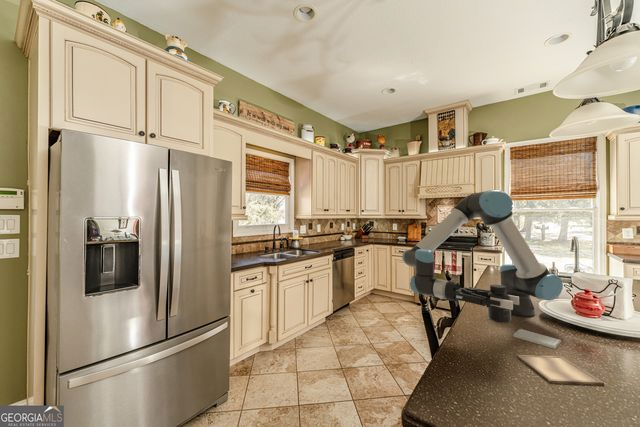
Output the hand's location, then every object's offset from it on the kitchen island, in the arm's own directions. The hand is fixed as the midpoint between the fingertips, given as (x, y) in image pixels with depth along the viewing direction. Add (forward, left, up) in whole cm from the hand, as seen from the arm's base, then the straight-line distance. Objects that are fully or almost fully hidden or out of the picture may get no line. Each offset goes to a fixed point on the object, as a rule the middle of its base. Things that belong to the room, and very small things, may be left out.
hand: (515, 303), depth 91 cm
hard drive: (-14, -12, -18) cm, 26 cm away
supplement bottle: (+3, -4, -7) cm, 9 cm away
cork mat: (-5, +9, -17) cm, 20 cm away
